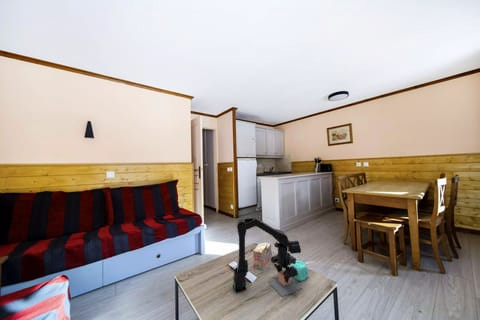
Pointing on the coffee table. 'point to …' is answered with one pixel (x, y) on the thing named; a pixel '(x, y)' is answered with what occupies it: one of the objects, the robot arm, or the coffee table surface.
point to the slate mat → (286, 288)
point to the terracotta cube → (282, 278)
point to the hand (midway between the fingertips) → (284, 279)
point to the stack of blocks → (262, 255)
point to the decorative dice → (300, 270)
